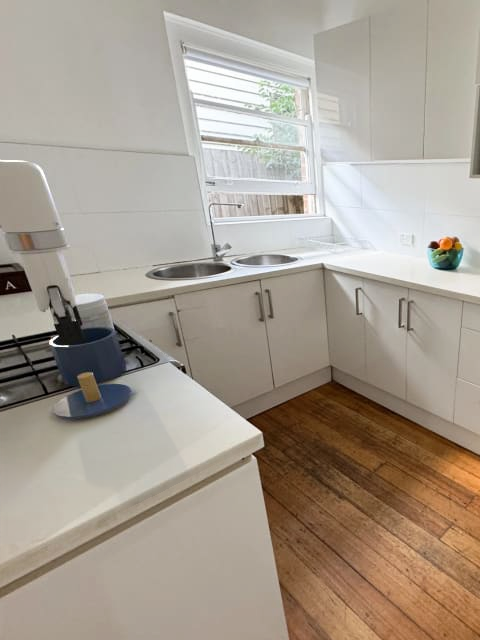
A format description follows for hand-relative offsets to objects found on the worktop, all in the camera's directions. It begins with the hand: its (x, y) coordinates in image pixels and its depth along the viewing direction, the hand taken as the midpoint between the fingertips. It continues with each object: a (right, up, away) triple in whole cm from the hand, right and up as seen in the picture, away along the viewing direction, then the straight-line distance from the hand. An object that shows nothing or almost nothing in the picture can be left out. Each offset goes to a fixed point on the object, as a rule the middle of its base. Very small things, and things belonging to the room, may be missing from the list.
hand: (73, 334), depth 71 cm
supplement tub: (-17, -5, +27) cm, 32 cm away
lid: (-1, -13, +6) cm, 15 cm away
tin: (-10, -9, +17) cm, 21 cm away
